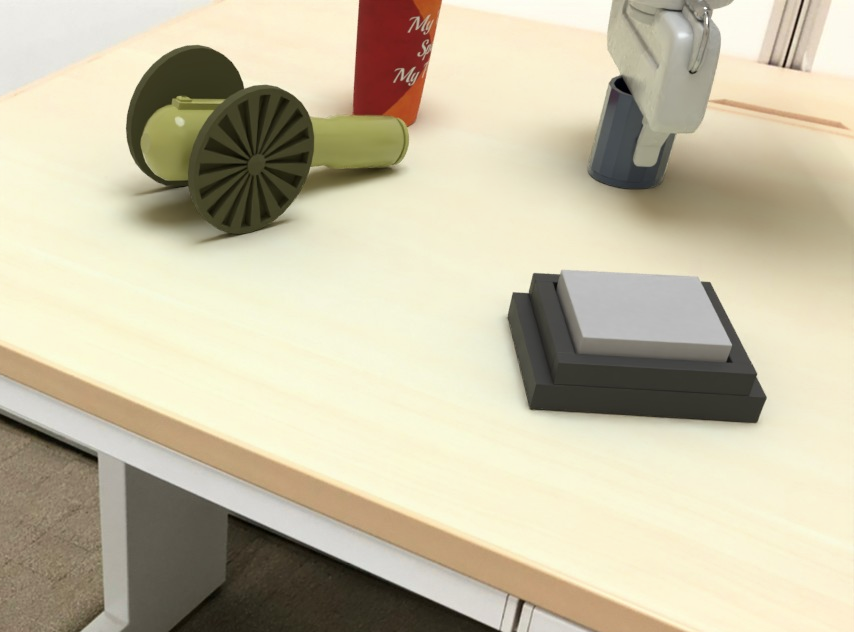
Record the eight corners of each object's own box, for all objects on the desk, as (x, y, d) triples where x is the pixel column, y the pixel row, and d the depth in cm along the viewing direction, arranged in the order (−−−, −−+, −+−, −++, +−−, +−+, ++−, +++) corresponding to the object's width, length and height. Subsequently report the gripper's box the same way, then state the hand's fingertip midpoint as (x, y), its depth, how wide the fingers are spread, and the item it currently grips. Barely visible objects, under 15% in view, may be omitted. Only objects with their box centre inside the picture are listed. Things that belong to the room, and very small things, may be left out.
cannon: (354, 139, 113) (369, 9, 106) (437, 188, 105) (460, 51, 98) (109, 195, 104) (108, 57, 97) (180, 253, 96) (184, 107, 89)
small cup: (654, 161, 109) (679, 74, 104) (670, 190, 104) (696, 101, 100) (582, 157, 110) (603, 72, 105) (594, 187, 105) (617, 98, 100)
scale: (710, 326, 87) (726, 281, 85) (757, 422, 78) (776, 375, 76) (507, 315, 89) (517, 271, 86) (529, 409, 80) (541, 361, 77)
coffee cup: (420, 138, 113) (448, -38, 103) (331, 126, 115) (350, -47, 106) (435, 106, 119) (462, -64, 109) (350, 95, 121) (370, -72, 112)
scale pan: (690, 299, 85) (698, 276, 83) (724, 369, 78) (732, 345, 77) (555, 292, 85) (561, 269, 84) (576, 360, 79) (583, 336, 77)
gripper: (759, 14, 88) (700, 198, 97) (692, -63, 104) (646, 102, 113) (667, 11, 89) (617, 195, 98) (614, -65, 104) (575, 99, 113)
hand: (632, 144), depth 105 cm, fingers closed on small cup, 6 cm apart
